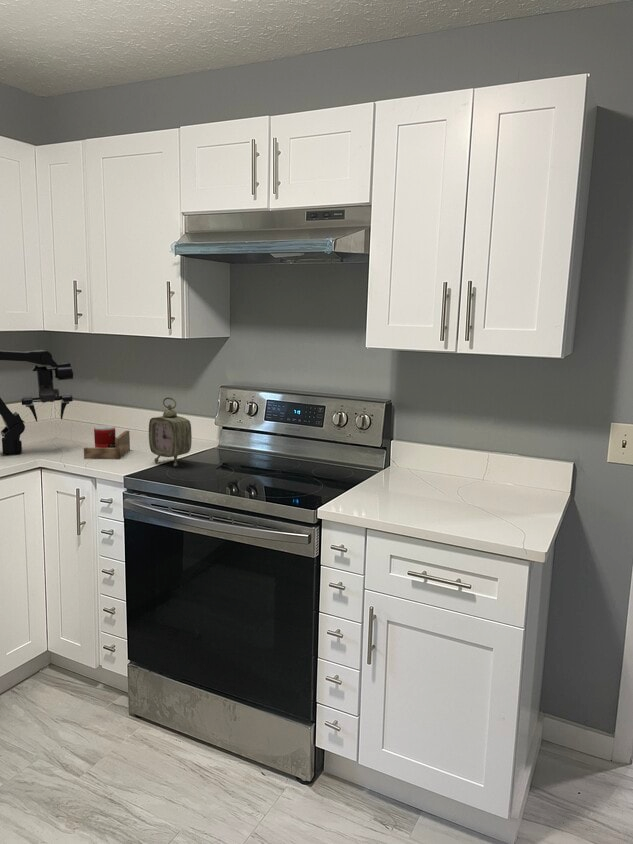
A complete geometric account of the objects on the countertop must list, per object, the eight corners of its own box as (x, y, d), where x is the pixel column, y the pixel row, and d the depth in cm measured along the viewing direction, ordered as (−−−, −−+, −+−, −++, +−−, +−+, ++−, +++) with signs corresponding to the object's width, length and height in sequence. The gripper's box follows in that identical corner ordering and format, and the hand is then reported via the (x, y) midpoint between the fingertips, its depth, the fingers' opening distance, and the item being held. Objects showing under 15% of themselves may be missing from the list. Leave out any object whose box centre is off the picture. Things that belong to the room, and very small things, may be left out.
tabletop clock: (149, 462, 241) (147, 396, 236) (167, 458, 248) (166, 394, 244) (175, 468, 232) (174, 400, 228) (194, 464, 240) (193, 397, 235)
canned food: (112, 456, 249) (111, 428, 248) (92, 456, 249) (91, 428, 248) (118, 452, 257) (117, 425, 255) (98, 451, 257) (97, 425, 255)
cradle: (84, 458, 245) (83, 438, 244) (96, 449, 261) (95, 430, 260) (119, 458, 246) (119, 438, 244) (129, 449, 262) (129, 430, 260)
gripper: (19, 385, 244) (24, 425, 247) (72, 382, 251) (75, 421, 254) (19, 382, 254) (23, 421, 257) (69, 379, 261) (73, 417, 264)
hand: (49, 420), depth 258 cm, fingers open, 9 cm apart
